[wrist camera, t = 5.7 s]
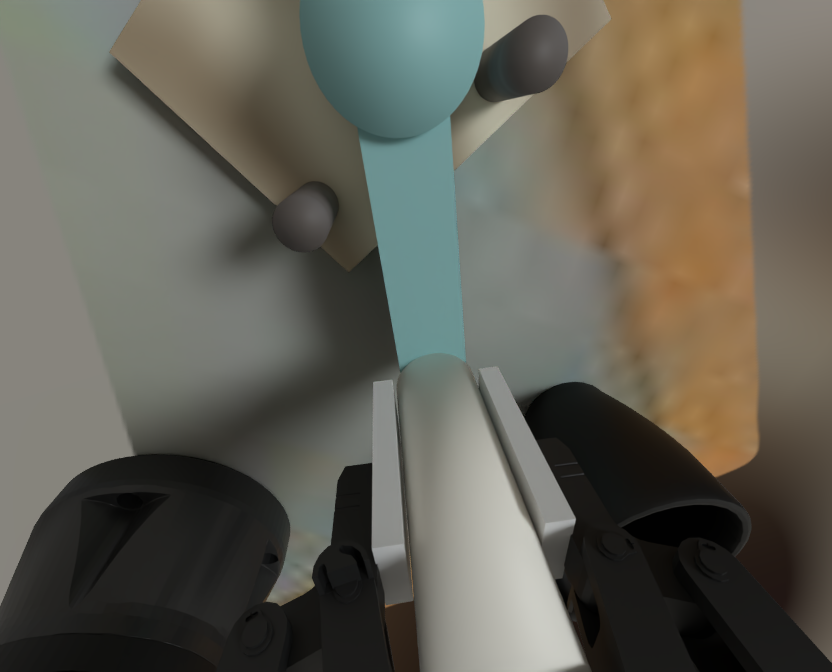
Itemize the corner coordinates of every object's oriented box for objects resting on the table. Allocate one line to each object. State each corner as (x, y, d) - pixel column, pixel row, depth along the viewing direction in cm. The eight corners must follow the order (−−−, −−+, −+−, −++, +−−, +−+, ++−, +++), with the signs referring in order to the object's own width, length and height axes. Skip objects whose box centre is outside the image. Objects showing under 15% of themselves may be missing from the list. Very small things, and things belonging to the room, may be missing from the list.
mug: (468, 486, 27) (509, 641, 19) (535, 353, 22) (633, 489, 13) (564, 496, 29) (639, 642, 21) (648, 375, 23) (795, 508, 15)
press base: (350, 265, 18) (342, 309, 14) (126, 57, 13) (6, 21, 9) (597, 25, 14) (694, -20, 10) (406, -384, 10) (432, -809, 5)
